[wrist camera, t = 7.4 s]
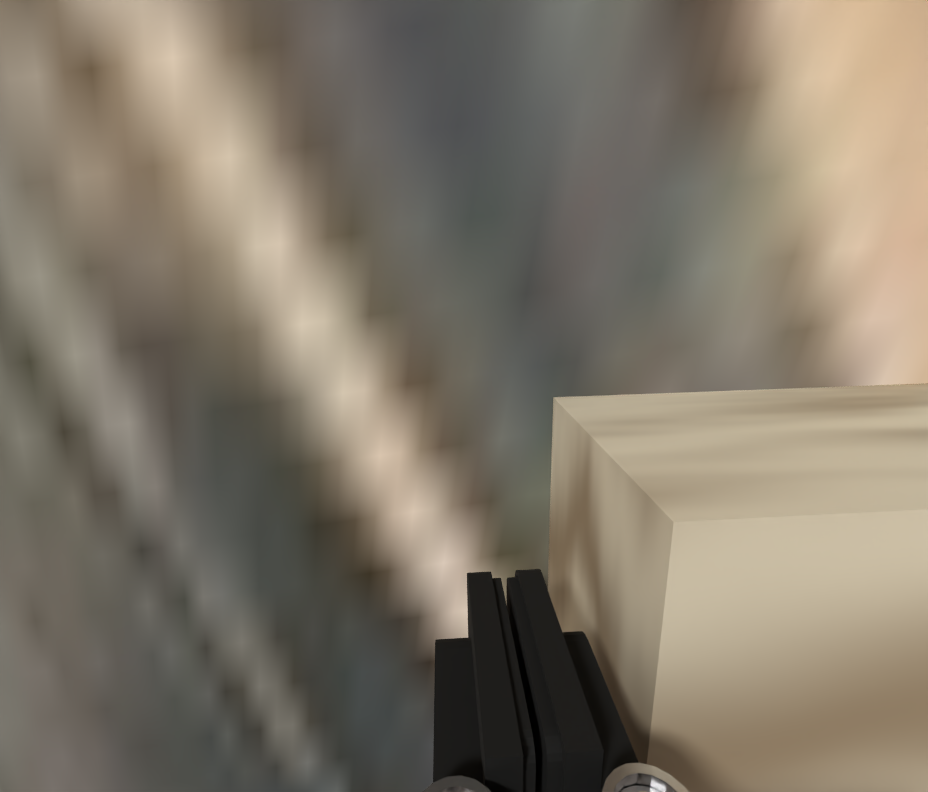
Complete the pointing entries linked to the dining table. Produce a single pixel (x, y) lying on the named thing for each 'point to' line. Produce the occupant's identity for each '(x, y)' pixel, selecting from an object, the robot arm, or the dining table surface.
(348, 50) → the dining table surface
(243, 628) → the dining table surface
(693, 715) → the maple brick
